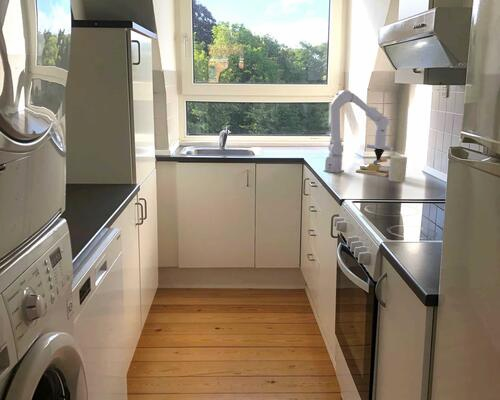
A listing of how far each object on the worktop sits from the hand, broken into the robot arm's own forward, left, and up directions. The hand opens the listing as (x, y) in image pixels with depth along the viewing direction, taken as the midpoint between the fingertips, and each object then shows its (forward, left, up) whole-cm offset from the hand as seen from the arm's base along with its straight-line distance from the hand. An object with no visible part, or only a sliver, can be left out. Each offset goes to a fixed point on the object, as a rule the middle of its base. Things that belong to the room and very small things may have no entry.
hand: (378, 162), depth 310 cm
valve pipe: (-6, -1, -5) cm, 8 cm away
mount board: (-6, -1, -5) cm, 8 cm away
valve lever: (-1, -1, 0) cm, 2 cm away
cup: (-18, -19, -6) cm, 27 cm away
